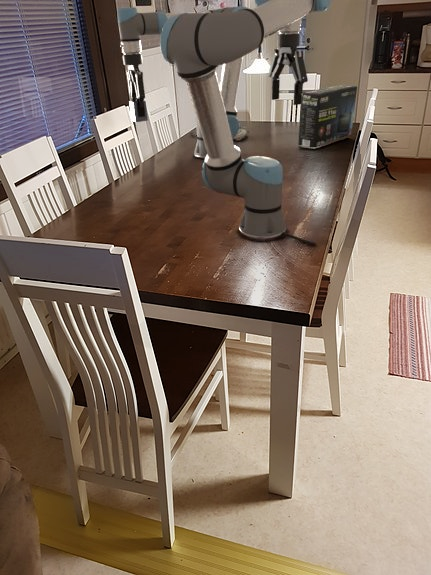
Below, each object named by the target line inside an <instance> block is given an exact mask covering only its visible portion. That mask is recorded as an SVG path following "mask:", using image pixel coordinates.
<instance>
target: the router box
mask: <svg viewBox="0 0 431 575" xmlns="http://www.w3.org/2000/svg"><path fill="white" fill-rule="evenodd" d="M357 93H358V86H356V85H350V84H339V85H338V84H337V85H334V86H328V87H324V88H318V89H314V90H309V91H304V92H302V100H301V104H300V109H299V110H300V111H299V124H298V137H297V146H298V145H302V146H307V147H317V146H320V145H323V144H325V143H328V142H331V141H333V140H336V139H338V138H341V137H344V136H347V135H351V136H352V133H353V132H352V131H353V125H354V115H355V109H356V99H357ZM311 151H313V150H312V149H311Z"/></svg>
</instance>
